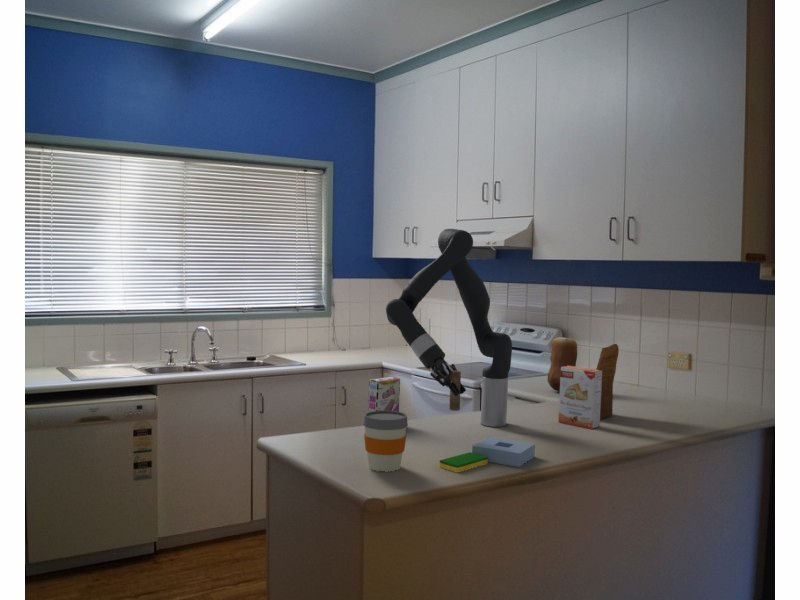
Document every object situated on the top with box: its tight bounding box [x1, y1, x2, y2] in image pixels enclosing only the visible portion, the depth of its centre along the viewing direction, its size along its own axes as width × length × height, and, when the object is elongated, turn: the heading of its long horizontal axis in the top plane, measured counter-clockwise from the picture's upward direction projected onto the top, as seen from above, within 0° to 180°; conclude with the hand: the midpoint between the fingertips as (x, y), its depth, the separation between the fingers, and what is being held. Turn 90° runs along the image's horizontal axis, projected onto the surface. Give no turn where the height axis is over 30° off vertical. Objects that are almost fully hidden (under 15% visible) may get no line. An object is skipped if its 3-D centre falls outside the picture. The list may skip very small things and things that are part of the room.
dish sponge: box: [438, 451, 489, 473], centre depth 211 cm, size 7×14×2 cm, turn 135°
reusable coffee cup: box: [363, 411, 409, 473], centre depth 206 cm, size 12×13×15 cm
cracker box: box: [557, 366, 602, 430], centre depth 265 cm, size 14×6×21 cm, turn 47°
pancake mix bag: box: [595, 343, 620, 421], centre depth 279 cm, size 7×19×28 cm, turn 138°
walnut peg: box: [449, 370, 462, 412], centre depth 228 cm, size 3×3×12 cm
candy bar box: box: [367, 376, 401, 413], centre depth 258 cm, size 11×5×16 cm, turn 135°
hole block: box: [471, 436, 536, 468], centre depth 220 cm, size 13×15×4 cm
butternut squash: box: [546, 336, 578, 393], centre depth 328 cm, size 14×13×25 cm
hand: (461, 393), depth 227 cm, fingers closed on walnut peg, 3 cm apart
